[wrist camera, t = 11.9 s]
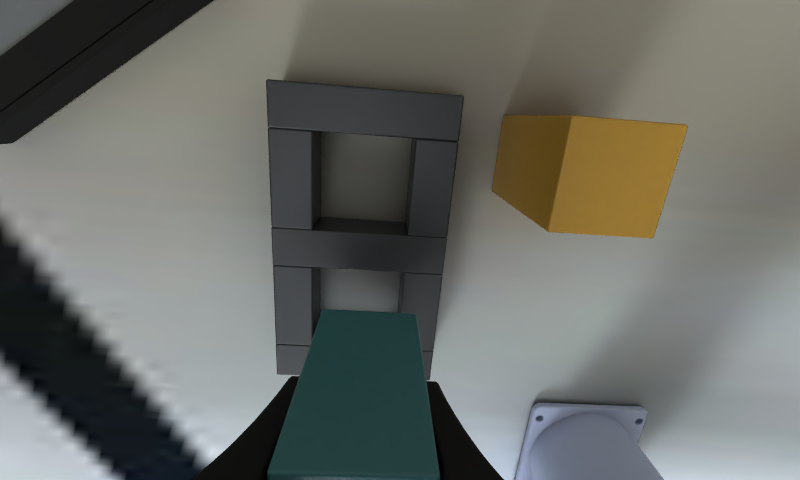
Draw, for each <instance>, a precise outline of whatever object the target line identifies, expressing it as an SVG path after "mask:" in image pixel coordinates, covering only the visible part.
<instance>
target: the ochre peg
mask: <svg viewBox="0 0 800 480" xmlns="http://www.w3.org/2000/svg"><path fill="white" fill-rule="evenodd" d="M687 128H688V125H685V124H673V123H661V122H648V121H636V120H624V119H611V118H599V117H586V116H574V115H505V116H503V122H502V128H501V135H500V141H499V148H498V154H497V160H496V167H495V173H494V180H493V186H492V192H494V193H495V194H496V195H498V196H499V197H501V198H502V199H503V200H505V201H506V202H508V203H509V204H510V205H512V206H513V207H514V208H516V209H517V210H519V211H520V212H521V213H523V214H524V215H526V216H527V217H528V218H530V219H531V220H533V221H534V222H535V223H537V224H538V225H539V226H541V227H542V228H544V229H545V230H546V231H548V232H558V233H574V234H590V235H606V236H622V237H639V238H653V237H654V234H655V231H656V228H657V225H658V221H659V218H660V215H661V212H662V209H663V205H664V202H665V199H666V196H667V192H668V189H669V186H670V183H671V180H672V176H673V173H674V170H675V167H676V164H677V160H678V157H679V154H680V151H681V148H682V144H683V141H684V138H685V135H686V131H687Z"/></svg>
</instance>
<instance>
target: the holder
mask: <svg viewBox="0 0 800 480" xmlns="http://www.w3.org/2000/svg"><path fill="white" fill-rule="evenodd" d="M266 90H267V117H268V127H270V128H268V143H269V169H270V196H271V222H272V253H273V276H274V302H275V329H276V358H277V374H280V375H300V374H301V371H302V368H303V365H304V362H305V359H306V356H307V353H308V350H309V347H310V344H311V342H312V339H313V336H314V333H315V330H316V327H317V324H318V321H319V318H320V268H338V269H356V270H374V271H393V272H401V279H400V291H399V303H398V313H410V314H416V315H417V321H418V327H419V334H420V341H421V348H422V355H423V362H424V369H425V375H426V380H430V372H431V364H432V356H433V348H434V340H435V332H436V324H437V315H438V307H439V299H440V291H441V283H442V273H443V266H444V258H445V250H446V242H447V238H446V237H447V232H448V224H449V216H450V208H451V200H452V191H453V183H454V175H455V167H456V159H457V150H458V142H457V141H459V134H460V126H461V118H462V110H463V102H464V96H462V95H450V94H438V93H426V92H414V91H402V90H390V89H378V88H366V87H354V86H342V85H330V84H318V83H306V82H294V81H282V80H270V79H267V80H266ZM321 131H323V132H336V133H349V134H363V135H376V136H389V137H402V138H412V146H411V159H410V171H409V183H408V195H407V207H406V219H405V222H391V221H375V220H359V219H343V218H328V217H320V216H321Z"/></svg>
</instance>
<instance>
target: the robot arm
mask: <svg viewBox="0 0 800 480" xmlns="http://www.w3.org/2000/svg"><path fill="white" fill-rule="evenodd" d="M299 377H300V376H292V377H290V378H289V379H288V381H287V382H286V383H285V385H284V386H283V387H282V388H281V390H280V391H279V392H278V394H277V395H276V396H275V397H274V399H273V400H272V401H271V402H270V403H269V405H268V406H267V407H266V408H265V409H264V410H263V412H262V413H261V414H260V415H259V416H258V417H257V418H256V420H255V421H254V422H253V423H252V424H251V425H250V426H249V427H248V428H247V429H246V430H245V431H244V432H243V433H242V434H241V435H240V436H239V437H238V438H237V439H236V440H235V441H234V442H233V443H232V444H231V445H230V446H229V447H228V448H227V449H226V450H225V451H224V452H223V453H222V454H221V455H219V456H218V457H217V458H216V459H215V460H214V461H213V462H212V463H210V464H209V465H208V466H207V467H206V468H204V469H203V470H202V471H201V472H199V473H198V474H197V475H196V476H195V477H193V478H192V479H191V480H268V477H267V471H268V468H269V465H270V462H271V459H272V456H273V453H274V450H275V448H276V445H277V442H278V439H279V436H280V433H281V430H282V427H283V424H284V421H285V418H286V415H287V412H288V409H289V406H290V403H291V400H292V397H293V395H294V392H295V389H296V386H297V383H298V380H299ZM426 382H427V389H428V396H429V403H430V410H431V417H432V424H433V430H434V437H435V444H436V451H437V458H438V465H439V472H440V480H504V479H503V478H502V477H501V476H500V475H499V474H498V473H497V471H496V470H495V469H494V468H493V467H492V466H491V464H490V463H489V462H488V461H487V460H486V458H485V457H484V456H483V454H482V453H481V452H480V451H479V449H478V448H477V447H476V445H475V444H474V442H473V441H472V440H471V438H470V437H469V435H468V434H467V432H466V431H465V430H464V428H463V426H462V425H461V423H460V422H459V420H458V419H457V417H456V415H455V414H454V412H453V410H452V409H451V407H450V405H449V403H448V402H447V400H446V398H445V396H444V394H443V392H442V390H441V388H440V386H439V384H438V383H437V382H431V381H426ZM647 415H648V413H647V411H646V410H645V409H644V408H643V407H640V406H616V405H588V404H560V403H537V404H535V405H534V406H533V407H532V410H531V414H530V418H529V423H528V427H527V431H526V435H525V440H524V444H523V448H522V452H521V456H520V461H519V465H518V469H517V473H516V478H515V480H664V479H663V477H662V476H661V475H660V474H659V472H658V471H657V470H656V468H655V467H654V466H653V464H652V463H651V462H650V460H649V459H648V458H647V456H646V455H645V454H644V453H643V451H642V450H641V449H640V447H639V446H638V445H637V443H638V440H639V438H640V435H641V432H642V429H643V427H644V424H645V421H646V418H647ZM537 416H539V417H537Z"/></svg>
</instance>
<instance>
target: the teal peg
mask: <svg viewBox="0 0 800 480" xmlns="http://www.w3.org/2000/svg"><path fill="white" fill-rule="evenodd" d="M267 477H268V480H440V472H439V465H438V458H437V451H436V444H435V437H434V430H433V424H432V417H431V410H430V403H429V396H428V389H427V382H426V375H425V369H424V362H423V355H422V348H421V341H420V334H419V327H418V321H417V315H416V314H410V313H390V312H369V311H348V310H327V309H324V310H322V312H321V315H320V318H319V321H318V324H317V327H316V330H315V333H314V336H313V339H312V342H311V344H310V347H309V350H308V353H307V356H306V359H305V362H304V365H303V368H302V371H301V374H300V377H299V380H298V383H297V386H296V389H295V392H294V395H293V397H292V400H291V403H290V406H289V409H288V412H287V415H286V418H285V421H284V424H283V427H282V430H281V433H280V436H279V439H278V442H277V445H276V448H275V450H274V453H273V456H272V459H271V462H270V465H269V468H268V471H267Z"/></svg>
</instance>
